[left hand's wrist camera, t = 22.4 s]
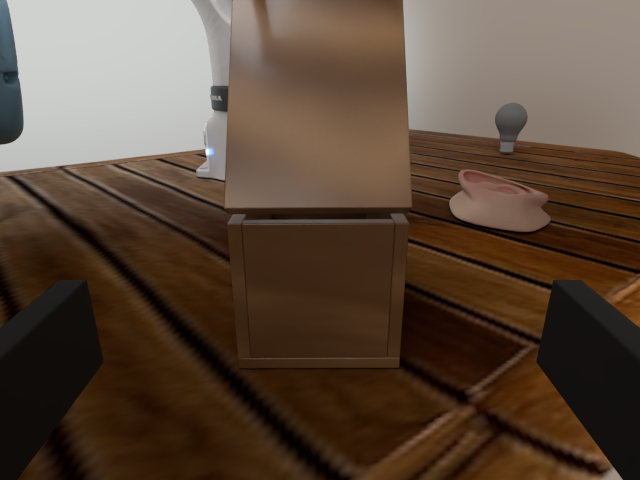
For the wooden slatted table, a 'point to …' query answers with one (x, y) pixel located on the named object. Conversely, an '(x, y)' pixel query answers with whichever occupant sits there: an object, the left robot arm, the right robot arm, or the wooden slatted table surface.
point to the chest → (318, 289)
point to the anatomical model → (498, 203)
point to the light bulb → (510, 124)
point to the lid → (317, 108)
